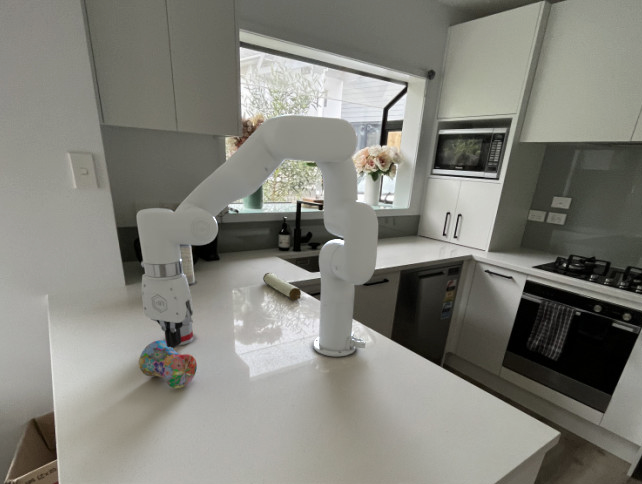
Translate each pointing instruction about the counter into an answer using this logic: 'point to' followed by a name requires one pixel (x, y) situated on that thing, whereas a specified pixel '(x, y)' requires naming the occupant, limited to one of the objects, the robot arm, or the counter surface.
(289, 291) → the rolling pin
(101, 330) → the counter surface
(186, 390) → the counter surface
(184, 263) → the aerosol can
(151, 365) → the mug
